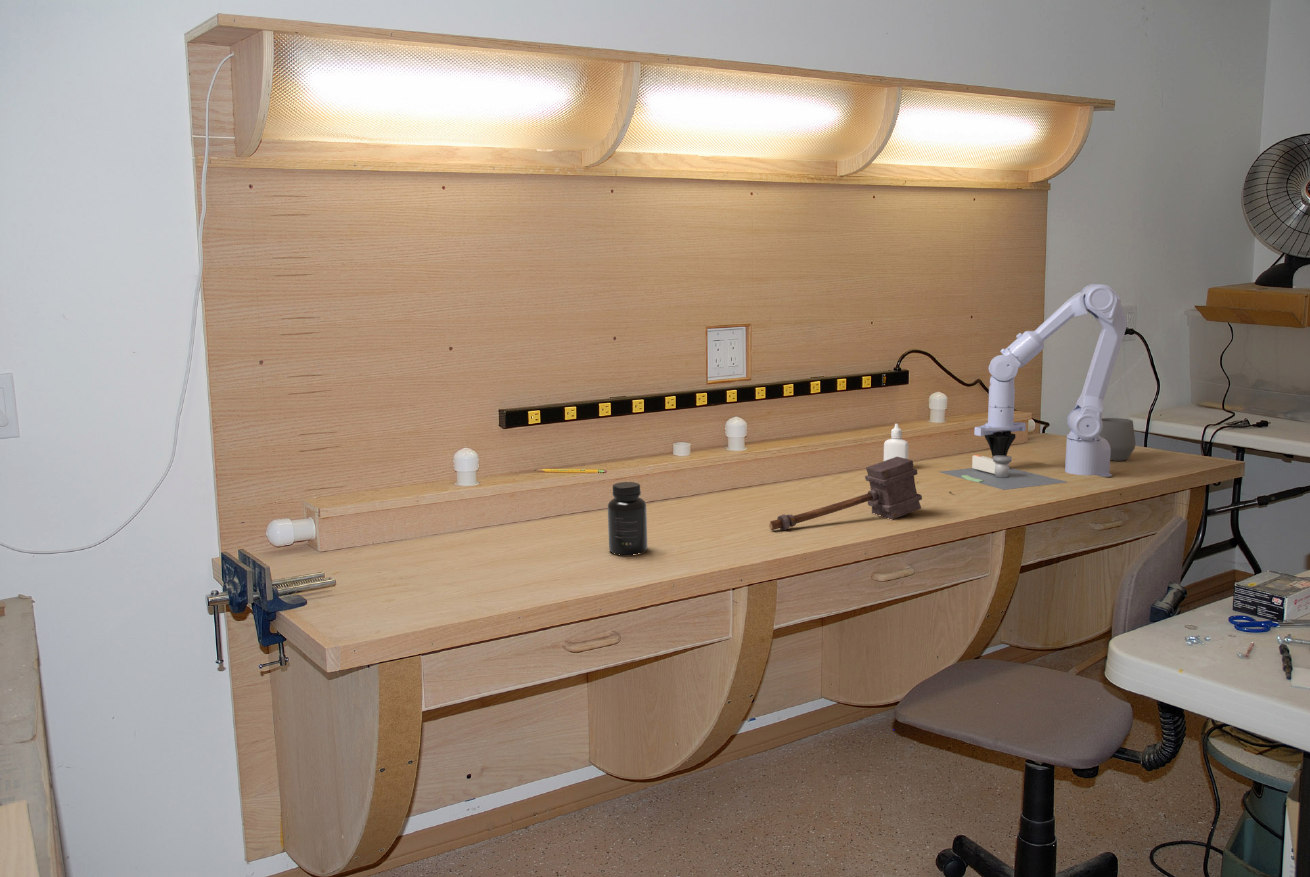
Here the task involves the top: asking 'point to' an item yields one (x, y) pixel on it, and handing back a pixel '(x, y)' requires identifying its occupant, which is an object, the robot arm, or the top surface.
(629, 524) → the supplement bottle
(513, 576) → the top surface
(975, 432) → the robot arm
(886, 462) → the hammer
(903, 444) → the eye dropper bottle
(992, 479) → the dial board
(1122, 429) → the cup
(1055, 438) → the top surface
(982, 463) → the peg key
